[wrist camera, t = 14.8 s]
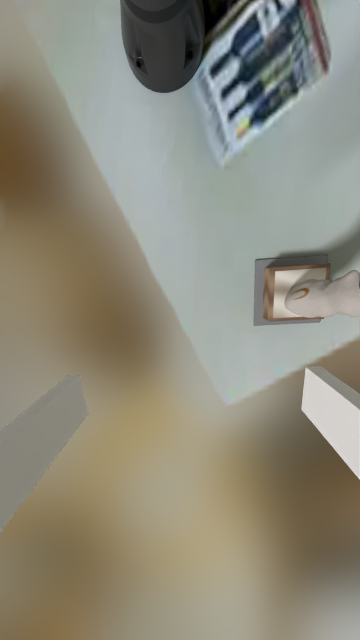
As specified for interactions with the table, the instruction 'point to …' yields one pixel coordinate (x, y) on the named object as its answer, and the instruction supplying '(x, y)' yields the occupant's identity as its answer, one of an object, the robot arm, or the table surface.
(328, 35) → the table surface
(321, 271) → the plinth
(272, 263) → the mat
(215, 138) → the table surface
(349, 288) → the figurine
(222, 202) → the table surface
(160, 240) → the table surface
